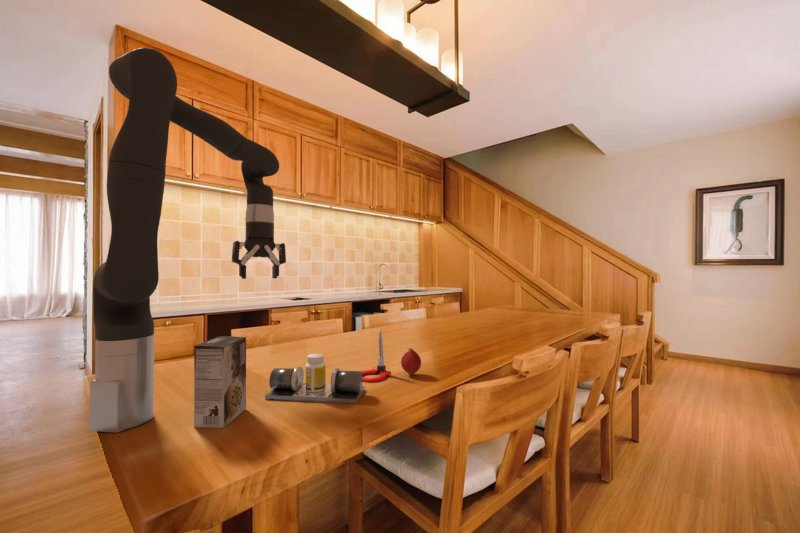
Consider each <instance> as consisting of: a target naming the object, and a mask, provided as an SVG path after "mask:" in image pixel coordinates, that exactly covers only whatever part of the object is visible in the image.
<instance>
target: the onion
mask: <svg viewBox="0 0 800 533" xmlns="http://www.w3.org/2000/svg"><path fill="white" fill-rule="evenodd" d="M400 364H401V367H402V369H403V370H404V371H405V372H406V373H407V374H408V375H409V376H413V375H415V374H416V373H417V372H418V371H419V370H420V368H421V367H422V359H421V357H420V355H419V354H418V353H417V351H415V350H414V349H413V348H412V347H409V348H408V351H406V352H405V353H404V354H403V355H402V357H401V360H400Z"/></svg>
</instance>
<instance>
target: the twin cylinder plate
mask: <svg viewBox="0 0 800 533" xmlns="http://www.w3.org/2000/svg"><path fill="white" fill-rule="evenodd" d="M362 371H363V370H362ZM362 371H361V370H341V369H340V368H338V367H337V368H336V367H335V368H333V370H332V373H331V377H330V383H325V385H326V386H325V389H324V390H323V391H320V392H308V391H306V382H305V383H304V381H305V380H304V378H305V373H304V372H305V371H304V369H303V367H302V366H296V367H295V368H285V367H283V368H282V367H274V368H273V369H272V370H271V372H270V376H269V379H268V381H269V383H268V385H269V388H270V389H271V390H270V391H269V392H267V393H265V395H264V400H269V399H274V400H275V401H294V402H309V403H310V402H311V403H312V402H314V403H315V402H316V403H333V404H334V403H335V404H353V405H355V404H357V403H358V401H359V399H360V398H361V396H362V394H363V393H364V391H365V385H363V383H364V382H363V377H364V375H362ZM274 400H273V401H274Z"/></svg>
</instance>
